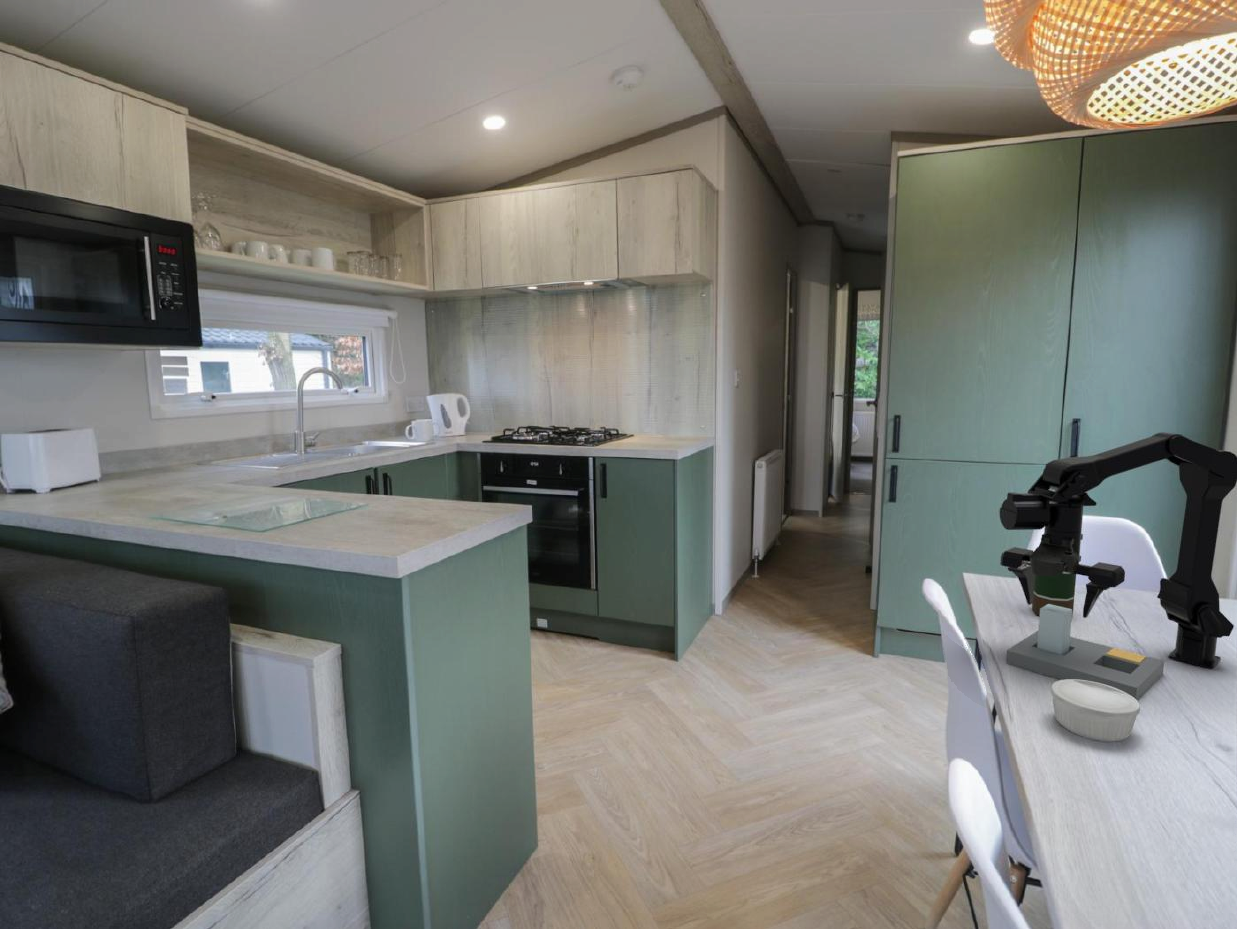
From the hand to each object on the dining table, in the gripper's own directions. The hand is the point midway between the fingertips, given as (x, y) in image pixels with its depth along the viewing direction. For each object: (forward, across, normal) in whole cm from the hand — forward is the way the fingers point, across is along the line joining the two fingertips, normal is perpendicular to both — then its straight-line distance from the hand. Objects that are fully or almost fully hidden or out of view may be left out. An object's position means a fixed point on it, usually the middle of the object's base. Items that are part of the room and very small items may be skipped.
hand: (1056, 610), depth 127 cm
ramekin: (+10, +13, -22) cm, 27 cm away
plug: (+10, 0, 0) cm, 10 cm away
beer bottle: (+10, -9, +26) cm, 29 cm away
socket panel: (+10, +5, 0) cm, 11 cm away
